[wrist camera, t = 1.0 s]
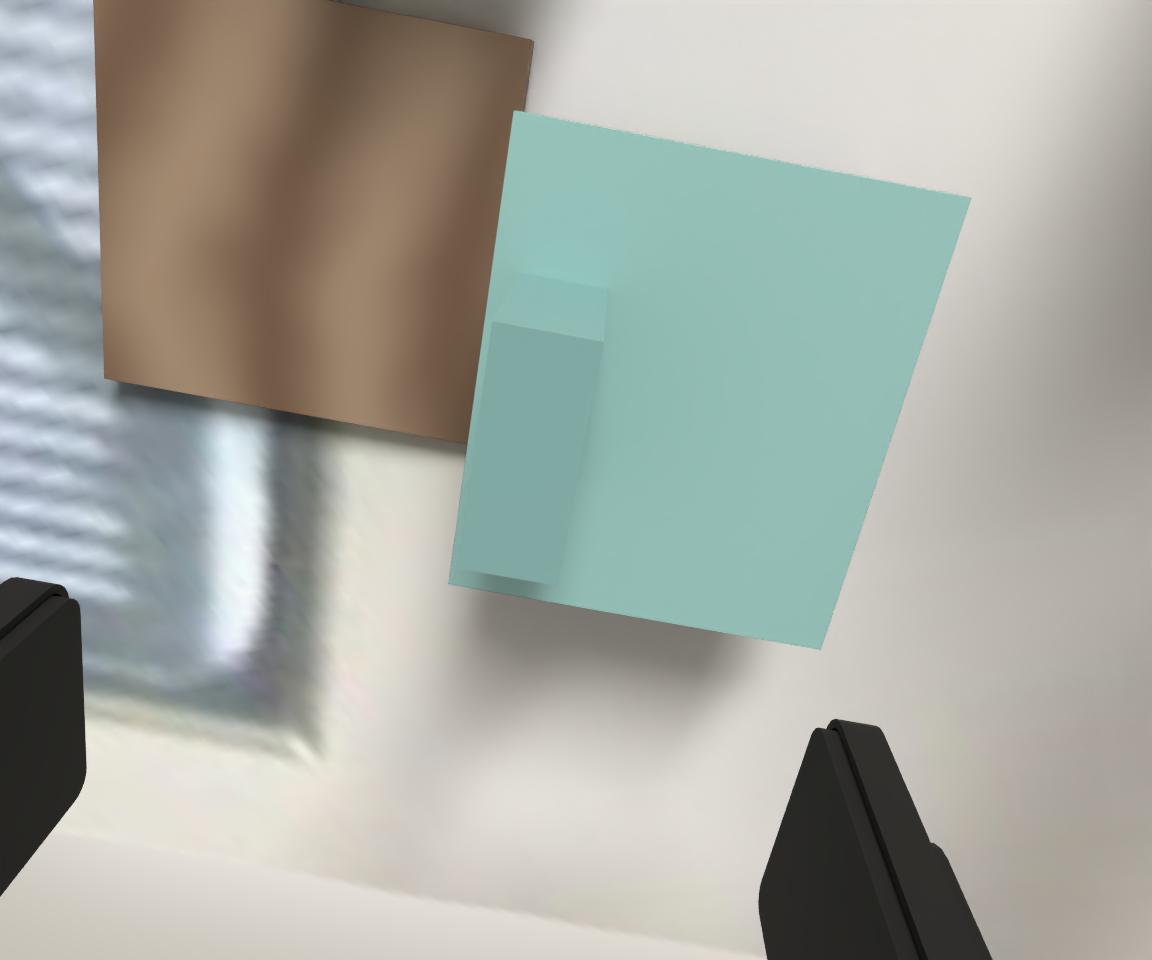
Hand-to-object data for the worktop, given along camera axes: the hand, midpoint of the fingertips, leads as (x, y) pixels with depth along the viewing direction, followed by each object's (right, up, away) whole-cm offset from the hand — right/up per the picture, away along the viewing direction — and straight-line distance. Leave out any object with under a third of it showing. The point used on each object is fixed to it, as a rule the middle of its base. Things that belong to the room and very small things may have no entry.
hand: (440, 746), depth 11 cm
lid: (+5, +6, +16) cm, 18 cm away
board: (-8, +13, +21) cm, 25 cm away
